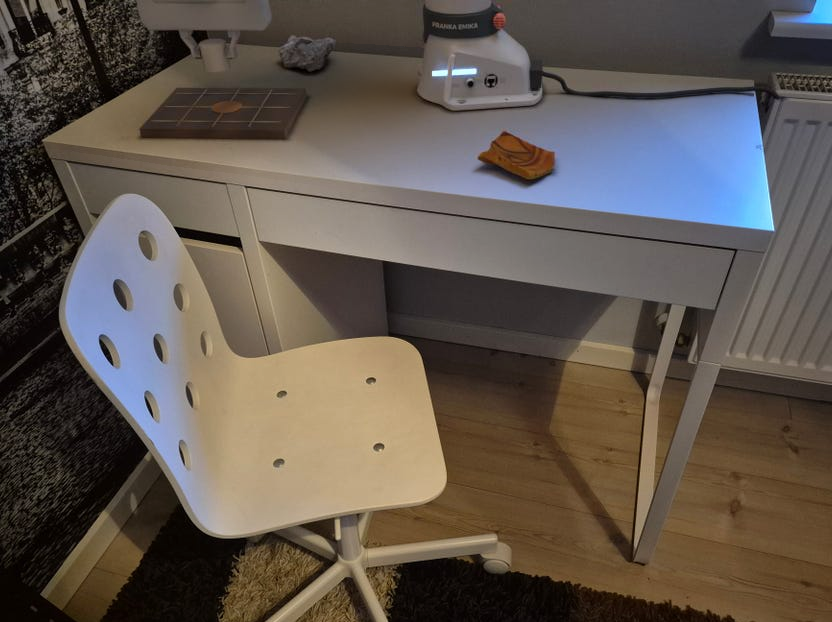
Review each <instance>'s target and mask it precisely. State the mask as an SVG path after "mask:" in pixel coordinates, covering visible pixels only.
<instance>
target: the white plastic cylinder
mask: <svg viewBox="0 0 832 622" xmlns="http://www.w3.org/2000/svg"><path fill="white" fill-rule="evenodd" d="M198 45H199V47H200V51H201V56H202V59H201V61H202V64H203V65H202V66H203V69H204V71H205V72H207V73H212V74H213V73H215V74H216V73H223V72H226V71H228V70H230V69H231V62H230V59H226V54H225V51H224V48H225V47H226V46H227V42H226V40H225V39H222V38H207V39H204V40H202V41H201V40H200V42H199V43H198Z"/></svg>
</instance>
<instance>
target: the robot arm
mask: <svg viewBox="0 0 832 622" xmlns="http://www.w3.org/2000/svg"><path fill="white" fill-rule="evenodd" d="M135 1H136V6H137V11H138V15H139V18H140V22H141V24H142V25H143V26H144V27H145V28H146V29H147V30H148V31H178V33H179V36H180V39H181V40H182V41H183V43H184V44H185V45H186V46H187V47H188V49H190V54H191V58H192V59H193V60H202V56H201V51H200V47H199V44H198V43H197V42H196V40H195V39H194V37H193V36H192V34H193V33H194V31H227V37H228V38H231V40H230V43H229V44H226V47H225V48H224V51H225V54H226V59H229V60H236V59H237V58H238V50H237V45H238V42H239V39H240V36H241V31H265V30H266V29H267V28H268V27H270V24H271V22H272V20H273V16H272V10H271V5H270V2H269V0H135ZM506 19H507V18H506V15H505V14H504V12H503V9H501V6H500V5H499V4H497V5H495V4H494V3H492V0H424V4H423V6H422V12H421V35H422V40H423V43H424V44H423V47H424V48H423V57H422V65H421V72H420V76H419V82H418V85H417V89H416V91H417V94H418V95H419V96H420V97H421V98H422V99H424V100H426V101H429V102H431V103H434V104H438V105H440V106H442V107H444V108H445V109H447V110H448V111H449V110H450V111H454V112H455V111H456V112H457V111H470V110H471V111H472V110H485V109H501V108H512V107H513V108H514V107H526V106H527V107H528V106H534V105H536V104H538V103H539V102H540V101H541V99H542V97H543V83H542V82H543V77H544V78H549V79H552V80H555V81H557V82H558V83H559V84H561V88H562V90H563V91H564V92H565V93H566V94H569V95H571V96H572V95H573V96H581V97H616V98H634V99H635V98H639V99H641V98H644V99H645V98H646V99H649V98H652V99H653V98H670V97H679V96H680V97H681V96H688V95H702V94H711V93H748V92H763V93H767V94H769V95H770V96H771V97H773V99H775V100H781V97H780V95H779V93H778V92H776V91H775V90H774V89H772V88H770V87H768V86H762V85H761V86H760V85H755V86H754V85H753V86H721V87H720V86H719V87H708V88H697V89H685V90H673V91H663V92H631V91H630V92H628V91H627V92H626V91H609V90H605V91H604V90H601V91H600V90H599V91H577V90H574V89H572V88H570V87H568V86H567V83H566V81H565V79H563V78H562V77H561V76H560V75H558V74H555V73H551V72H547V71H544V69H543V66H544V65H543V60H542V59H531V58H530V57H529V53H528V51H527V50H526V49H525V47H524V46H523V45H521V44H520V43H519V42H518V41H517V40H516V39H514V38H513V37H512V36H511V35H510V34H508V33H507V32H506V31H505V30H504V27H505V26H506V23H507V21H506Z"/></svg>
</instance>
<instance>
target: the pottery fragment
mask: <svg viewBox="0 0 832 622" xmlns="http://www.w3.org/2000/svg"><path fill="white" fill-rule="evenodd" d="M555 155H556V153H555V151H549V150H547V149H544V148H542V147H540V146H537V145H535V144H532V143H530V142H529V141H526V140H524V139H521V138H520V137H519V136H516V135H514V134H512V133H511V132H508V131H506V130H502V132H501V133H499V136H497V138H495V139H494V140H492V141H491V142H490V146H489V148H488V150H486V151H482V152H480V154H479V155H477V160H478V161H480V162H482V163H484V164H487V165H492V166H498V167H501V168H502V169H504V170H506V171H508V172H510V173H512V174H514V175H517V176H519V177H521V178H524V179H526V180H535V179H538V178H541V177H544V176H546V175H548V174H551V173H552V172H553V169H554V167H555V164H556V159H555V157H556V156H555Z"/></svg>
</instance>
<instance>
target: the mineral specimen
mask: <svg viewBox="0 0 832 622" xmlns="http://www.w3.org/2000/svg"><path fill="white" fill-rule="evenodd" d="M336 43H337V40H336V39H333V38H331V37H324V38H319V39H314V40H313V39H312V38H311V37H308V36H299V37H297V36H296V35H293V34H291V35H290V36H289V38H288V39H287V41H286V43H285V44H283V45H281V46H280V47H279V48H278V50H277V51H278V55H279V57H280V60H282V61H283V64H284V68H287V69H293V68H298V69H299V68H300V69H301V70H306V71H308V72H314V71H317V70H318V71H320V70H321V69H324V67H325V65H326V61H327V59H328V57H329V56H330V54H332V52H333V50H335V49H336V45H337V44H336Z"/></svg>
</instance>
